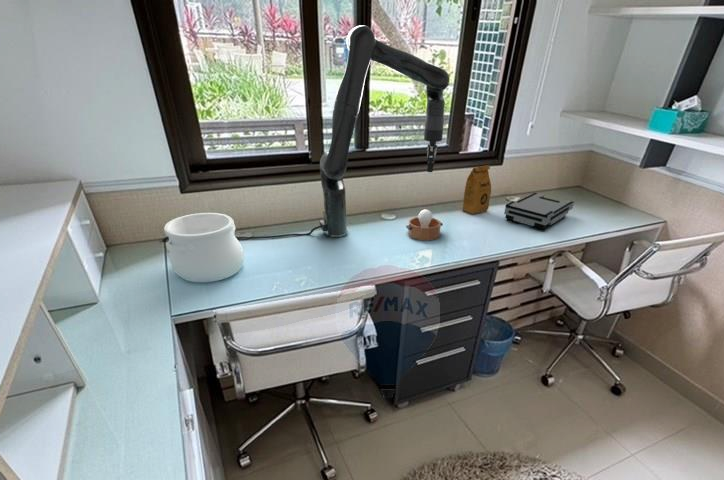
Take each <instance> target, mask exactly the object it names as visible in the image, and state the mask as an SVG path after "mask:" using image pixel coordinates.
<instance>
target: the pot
mask: <svg viewBox="0 0 724 480" xmlns="http://www.w3.org/2000/svg"><path fill="white" fill-rule="evenodd" d="M163 232H164V235H166V237H169V238H168V241H166V242H165V247H166V250H167V251H169V262H170V264H171V267H172V270H173V271H174V272H175V273H176V274H177V275H178V277H180V278H182V279H183V280H185V281H188V282H192V283H211V282H217V281H221V280H225V279H227V278H230V277H232V276H234V275H236V273H238V272H239V271H240V270H241V268H242V267H243V264H244V259H245V255H244V249H243V247H242V245H241V243H240V241H239V239H236V237H237V236H236V234H235V232H236V225H235V221H234V219H233V218H232V217H231V216H229V215H228V214H223V213H218V212H197V213H191V214H185V215H182V216H178V217H176V218H173V219H171V220H169V221H168V222H167V223H165V224H164V228H163Z"/></svg>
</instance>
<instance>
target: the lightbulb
mask: <svg viewBox="0 0 724 480" xmlns="http://www.w3.org/2000/svg"><path fill="white" fill-rule="evenodd" d="M417 217H418V219H419V221H420V224H421V227H423V228H428V226H429V223H430V222H431V220H432V218H433V214H432V212H431V210H429V209H422V210H421V211H420V212H419V213H418V215H417Z"/></svg>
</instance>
